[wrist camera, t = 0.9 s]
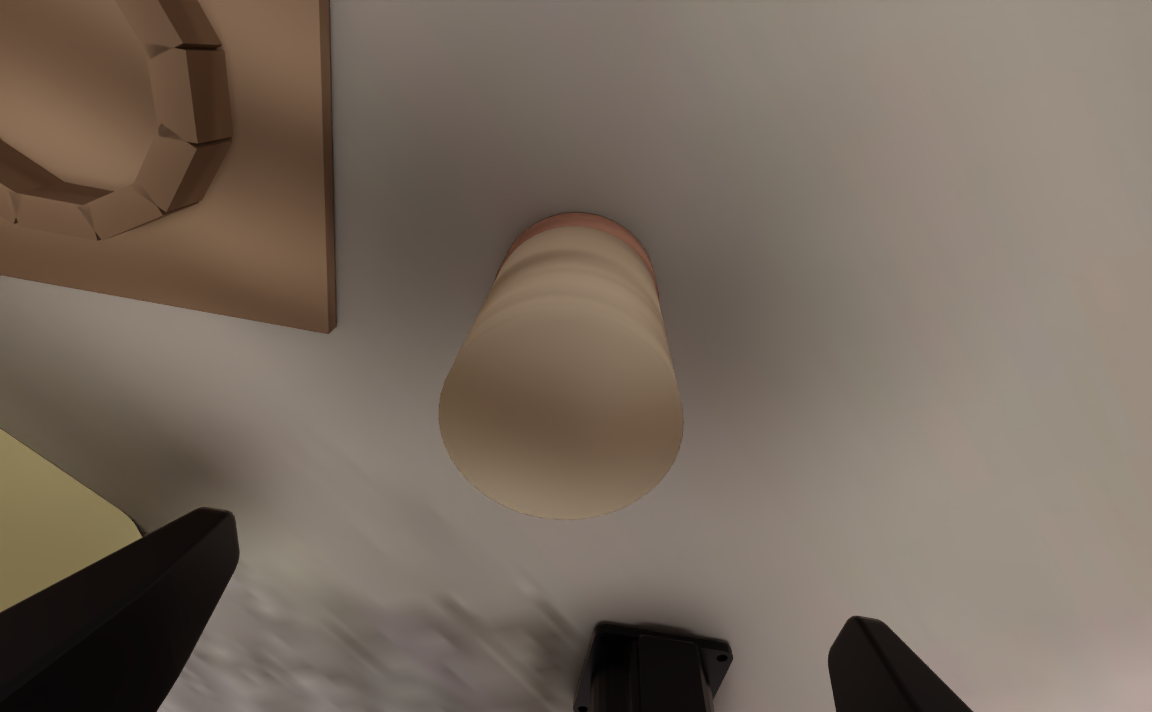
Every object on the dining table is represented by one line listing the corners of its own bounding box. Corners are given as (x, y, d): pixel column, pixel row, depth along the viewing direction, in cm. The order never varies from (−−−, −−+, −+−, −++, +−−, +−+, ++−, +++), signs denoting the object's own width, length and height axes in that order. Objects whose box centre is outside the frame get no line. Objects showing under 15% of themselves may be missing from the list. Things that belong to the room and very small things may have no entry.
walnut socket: (336, 326, 20) (306, 355, 18) (-79, 251, 19) (-157, 273, 17) (324, -210, 13) (275, -256, 11) (-305, -347, 13) (-471, -421, 11)
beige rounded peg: (635, 368, 20) (652, 538, 13) (492, 342, 20) (428, 500, 13) (672, 228, 18) (718, 340, 10) (510, 196, 17) (445, 290, 10)
